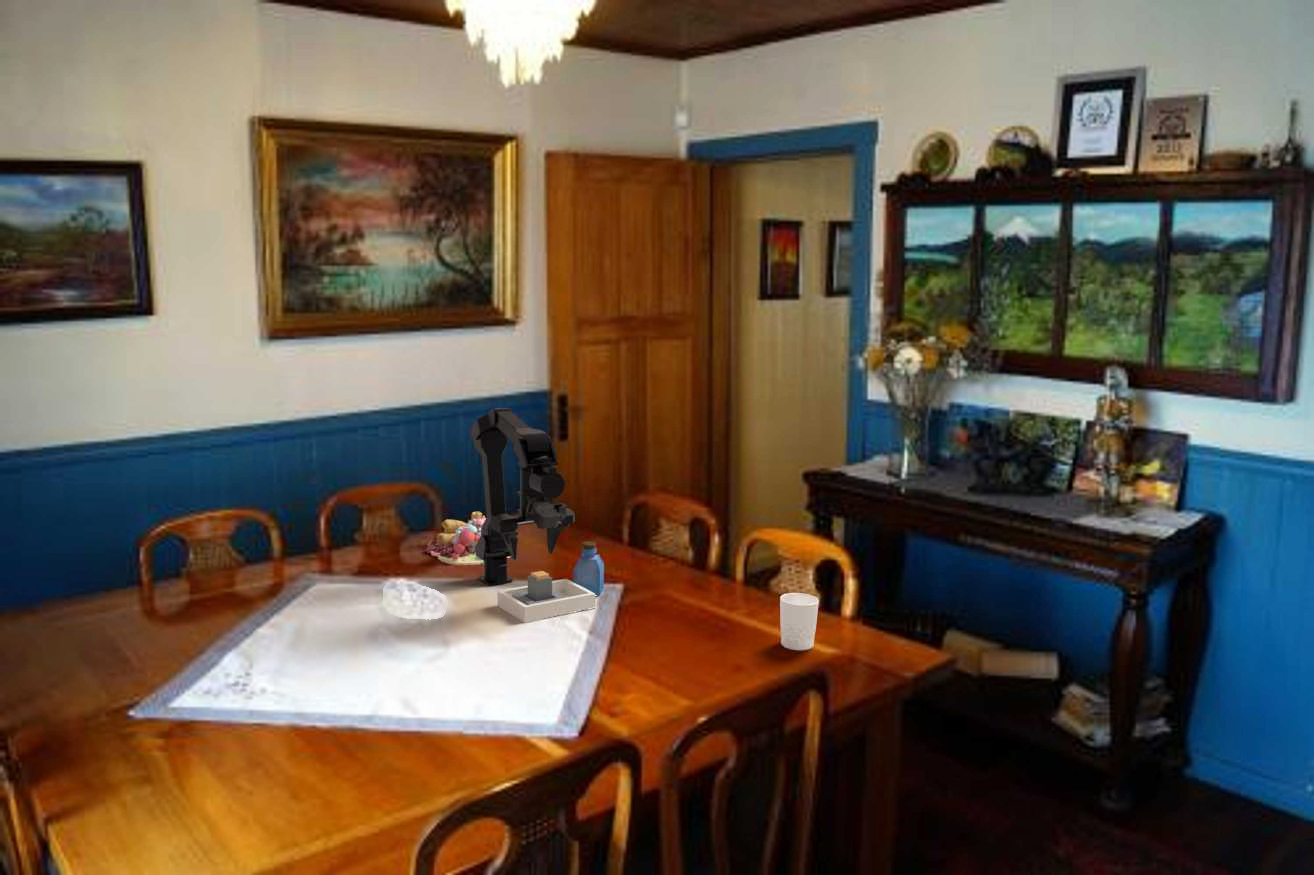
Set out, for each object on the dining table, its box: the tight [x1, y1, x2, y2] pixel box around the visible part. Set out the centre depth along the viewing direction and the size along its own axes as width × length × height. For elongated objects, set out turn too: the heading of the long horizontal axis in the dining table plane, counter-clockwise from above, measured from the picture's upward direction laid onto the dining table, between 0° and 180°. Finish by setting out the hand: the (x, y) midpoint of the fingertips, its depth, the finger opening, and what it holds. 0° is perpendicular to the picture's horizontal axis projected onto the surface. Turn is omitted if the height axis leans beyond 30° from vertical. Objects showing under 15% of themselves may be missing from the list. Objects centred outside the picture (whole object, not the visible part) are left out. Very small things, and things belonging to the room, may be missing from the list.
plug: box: [527, 570, 553, 602], centre depth 236 cm, size 4×4×8 cm
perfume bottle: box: [573, 540, 605, 597], centre depth 249 cm, size 6×6×12 cm
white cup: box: [779, 592, 820, 651], centre depth 218 cm, size 8×8×10 cm
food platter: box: [423, 511, 512, 566], centre depth 281 cm, size 25×24×9 cm
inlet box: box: [496, 578, 596, 624], centre depth 238 cm, size 13×18×4 cm
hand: (532, 556), depth 237 cm, fingers open, 9 cm apart
